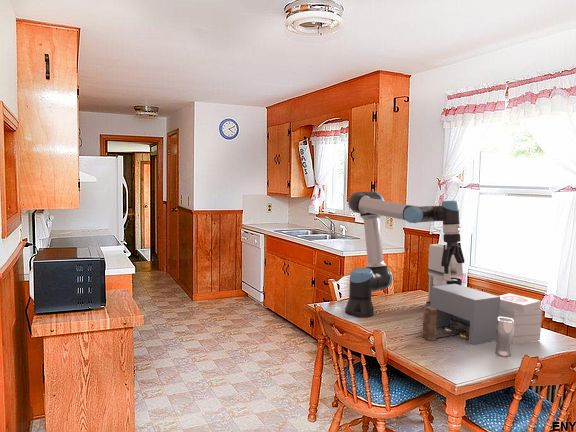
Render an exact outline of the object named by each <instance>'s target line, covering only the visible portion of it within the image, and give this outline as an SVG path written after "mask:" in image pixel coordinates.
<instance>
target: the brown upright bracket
mask: <svg viewBox="0 0 576 432" xmlns="http://www.w3.org/2000/svg"><path fill="white" fill-rule="evenodd" d="M422 314H423V317H422V318H423V319H422V330H421V331H422V332H421V334H422V335H421V337H422V338H423V339H426V340H428V341H430V342H431V341H436V339H438V338H443V337H444V338H445V337H449V336H455V335H459V333H461V332H465V333H469V331H470V326H469V325H466V324H463V323H461V322H458V321H455V320H453V319H450V325H449V326H450V327H454V328H455V329H456V331H450V332H446V331H444V332H440V333H437V327H436V319H437V309H435V308H432V307H430V306H428V305H426V306H424V307H423V313H422Z"/></svg>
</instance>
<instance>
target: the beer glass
mask: <svg viewBox="0 0 576 432" xmlns="http://www.w3.org/2000/svg"><path fill="white" fill-rule="evenodd" d="M495 333H496V340H495V341H496V347H495V351H494V355H496V356H498V357H502V358H510V357H511V356H512V353H511V346H512V343H511V342H512V339H513V335H514V320H513V319H511V318H506V317H498V318H497V321H496V328H495Z"/></svg>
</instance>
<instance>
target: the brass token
mask: <svg viewBox="0 0 576 432" xmlns="http://www.w3.org/2000/svg"><path fill="white" fill-rule="evenodd" d="M458 336H459V339H460V338H461V339H463V340H469V333H465V332H461V333H459V334H458Z"/></svg>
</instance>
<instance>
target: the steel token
mask: <svg viewBox="0 0 576 432" xmlns="http://www.w3.org/2000/svg"><path fill="white" fill-rule="evenodd" d="M443 330H444V332H450V331H456V330H457V329H455V328H454V327H450V325H447V326H444V329H443Z"/></svg>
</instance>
